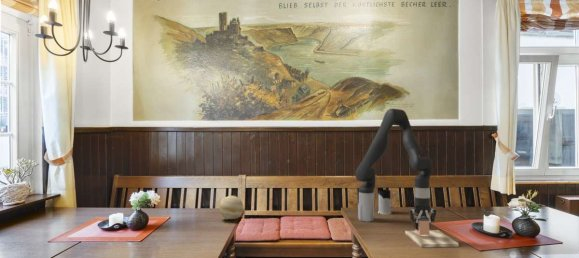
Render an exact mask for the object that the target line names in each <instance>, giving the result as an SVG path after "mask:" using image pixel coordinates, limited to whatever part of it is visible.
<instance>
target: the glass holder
mask: <svg viewBox="0 0 579 258" xmlns="http://www.w3.org/2000/svg"><path fill="white" fill-rule="evenodd" d="M395 193H396V194H397V199H396V202H395V203H394V204H393V205H392V206H391V204H392V201H391V199H393V198H394V194H395ZM399 195H400V194H399V193H398V191H394V192H392V195H391V190H390V189H379V190H378V196H377V197H378V211H377V213H378V214H379V213H380V214H379V215H392V212H391V211H392V209H393V207H395V206H396V204H397V203H398V201H399V198H400V196H399Z"/></svg>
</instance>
